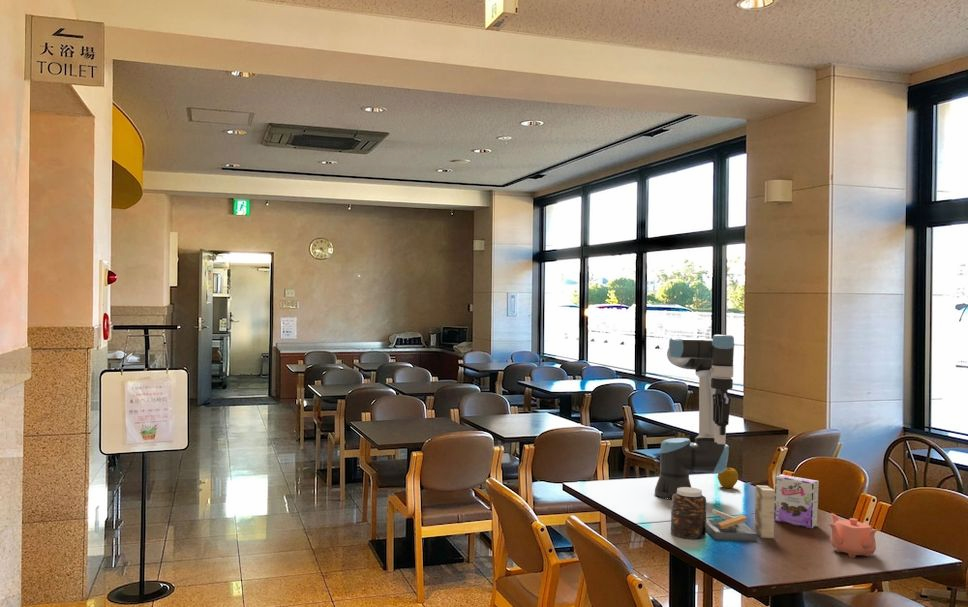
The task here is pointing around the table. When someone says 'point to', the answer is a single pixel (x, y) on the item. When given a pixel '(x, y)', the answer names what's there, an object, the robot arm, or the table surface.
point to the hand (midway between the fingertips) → (719, 442)
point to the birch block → (764, 511)
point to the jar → (688, 513)
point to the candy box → (796, 501)
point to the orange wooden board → (732, 521)
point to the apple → (728, 478)
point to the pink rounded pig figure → (852, 537)
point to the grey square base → (730, 531)
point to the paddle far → (722, 514)
